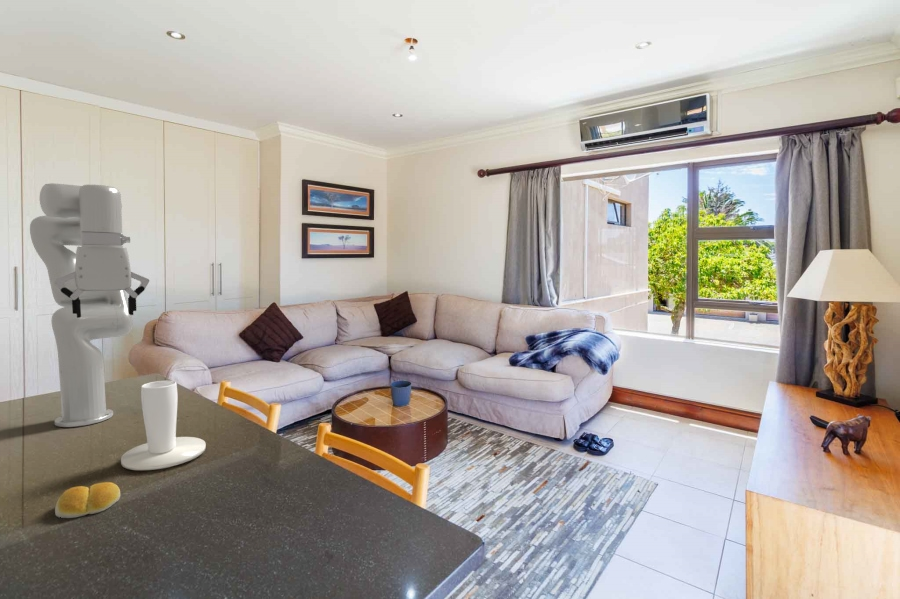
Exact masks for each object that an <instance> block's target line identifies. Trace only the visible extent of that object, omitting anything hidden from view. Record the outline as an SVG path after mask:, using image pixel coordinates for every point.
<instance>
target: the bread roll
mask: <svg viewBox="0 0 900 599" xmlns="http://www.w3.org/2000/svg"><path fill="white" fill-rule="evenodd" d="M120 498H121V489H120V487H119V486H118V485H117V484H116V483H114V482H110V481H105V482H104V481H103V482H98V483H94V484H92V485H90V486H89V487H87V486H82V485H81V486H73V487H69V488H68V489H66V490H64V492H62V493H61V495H60V496H59V497H58V499H57V501H56V504H55V508H54V513H55V516H56V517H58V518H60V517H61V518H60V519H74V518H80V517H83V516H86V515H92V514H97V513H102V512H104V511H105V510H107V509H109V508H111V507H112V506H114V505H115V504H116V503H117V502H118V501H119V500H120Z"/></svg>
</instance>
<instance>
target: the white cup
mask: <svg viewBox="0 0 900 599" xmlns="http://www.w3.org/2000/svg"><path fill="white" fill-rule="evenodd" d="M140 388H141V389H140V396H141V397H140V398H141V399H140V400H141V409H142V410H141V411H142V415H143V416H142V417H143V424H144V428H145V435H146V443H147V445H148V451H149V453H152V454H161V453H165V452H169V451H171V450H173V449H174V448H175V447H176V437H177V418H178V402H179V401H178V400H179V399H178V398H179V397H178V384H177V382H176V380H167V379H166V380H158V381H157V380H156V381H151V382H148V383H144V384H141V386H140Z"/></svg>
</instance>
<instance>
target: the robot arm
mask: <svg viewBox="0 0 900 599" xmlns="http://www.w3.org/2000/svg"><path fill="white" fill-rule="evenodd" d="M39 206H40V208H41V210H42V212H43V214H44V215H41V216H36V217H35V218H33V219H32V220H31V222H30V225H29V234H30V239H31V243H32V246H33V247H34V250H35V252H36V253H37V255H38V256H39V257H40V259H41V260H42V262H43V264H44V265H45V268H46V270H47V274H48V278H49V284H50V288H51V293H52V297H53V299H54V301H55V303H56V304H57V305H58V306H60V307H61V308H59V309H56V310H55V311H54V312H53V313H52V316H51V327H52V332H53V335H54V339H55V344H56V350H57V358H58V359H57V360H58V375H59V389H60V390H59V392H60V407H61V415H60V416H58V417H56V418H55V419H54V425H55V426H56V427H60V428H61V427H62V428H73V427H74V428H76V427H82V426H88V425H93V424H97V423H101V422H104V421H107V420H109V419H111V418H112V417H113V416H114V411H113V409H109V408H107V404H106V403H107V400H106V386H105V385H106V381H105V364H104V356H103V353H102V351H101V349H99V348H98V347H97V346H96V345H94V344H93V343H92V342H91V341H93V340H98V339H100V340H101V339H110V338H118V337H125V336H126V335H128V334H130V332H132V329H133V316H134V312H136V311H137V298H138V297H139V296H140V295H141V294H142V293H143V292H144V291H145V290H146V288H147V286H148V284H149V282H150V279H149V278H147V277H145V276H142V275H140V274H137V273H135V272H132V271H131V263H130V259H129V253H128V252H129V251H128V249H127V247H124V245H125V244H126V243H127V244H130V243H131V237H130V236H125V235H124V234H123V218H122V207H123V205H122V196H121V192H120V189H118V188H116V187H114V186H110V185H102V184H83V185H74V184H65V183H54V182H53V183H51V182H50V183H45V184H44V185H43V186H41V189H40V192H39ZM66 246H74V247H75V246H76V251H75V252H74V251H73V250H71V249H69V248H68V247H66ZM132 279H134V280H136V281H139V282H140V284H139V286H137V287H136V289H132V288H131V287H132ZM126 293H127V294H128V297H127V295H126Z"/></svg>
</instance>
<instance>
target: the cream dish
mask: <svg viewBox="0 0 900 599" xmlns="http://www.w3.org/2000/svg"><path fill="white" fill-rule="evenodd" d="M206 446H207V445H206V441H205V440H204V439H203V438H202V439H201V438H199V437H194V436H176V447H175V448H174V449H173V450H171V451H169V452H165V453H161V454H152V453H149V451H148V445H147V442H146V443H143V444H139V445H137V446H134V447H133V448H131V449H129V450H127V451H126V452H125V453H123V454H122V456H120V464H121V466H122V467H123V468H125V469H127V470H132V471H152V470H160V469H161V470H162V469H166V468H171V467H174V466H178V465H181V464H184V463H186V462H189V461H190V462H191V461H192V460H194V459H196V458H197V457H199V456H201V455H202V454H203V453H204V452H205V451H206V449H207V448H206Z"/></svg>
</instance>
